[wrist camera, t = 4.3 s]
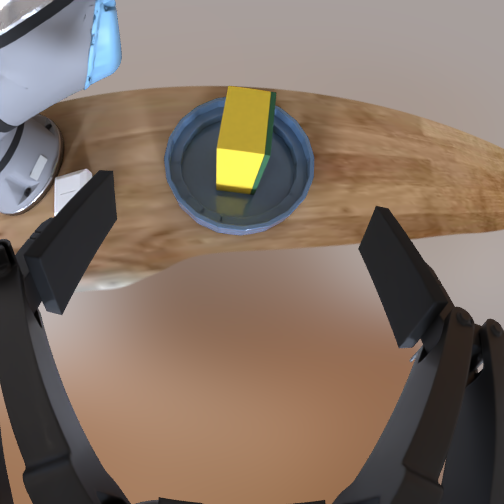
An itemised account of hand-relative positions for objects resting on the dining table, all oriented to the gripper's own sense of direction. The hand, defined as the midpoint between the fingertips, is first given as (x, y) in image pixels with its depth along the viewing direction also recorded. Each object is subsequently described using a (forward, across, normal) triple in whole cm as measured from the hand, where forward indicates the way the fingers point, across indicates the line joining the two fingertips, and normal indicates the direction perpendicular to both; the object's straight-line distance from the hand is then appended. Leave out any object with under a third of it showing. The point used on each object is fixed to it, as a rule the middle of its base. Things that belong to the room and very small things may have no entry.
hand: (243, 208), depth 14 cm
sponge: (+22, 0, -6) cm, 22 cm away
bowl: (+22, 0, -6) cm, 23 cm away
